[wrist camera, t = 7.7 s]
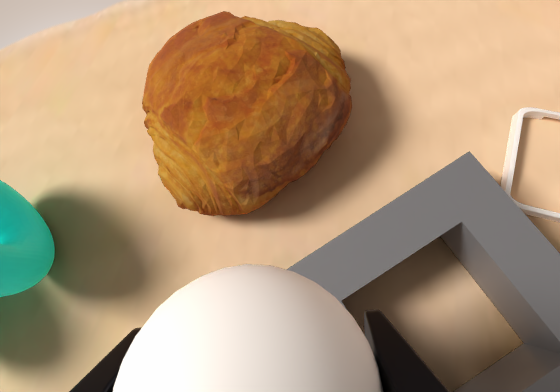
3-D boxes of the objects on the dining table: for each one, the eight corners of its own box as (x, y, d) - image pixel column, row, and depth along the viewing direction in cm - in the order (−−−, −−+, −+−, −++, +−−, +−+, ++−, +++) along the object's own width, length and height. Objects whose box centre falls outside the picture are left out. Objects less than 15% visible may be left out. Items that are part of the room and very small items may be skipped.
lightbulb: (203, 383, 16) (-48, 581, 5) (250, 257, 17) (127, 208, 6) (330, 442, 14) (343, 869, 4) (371, 302, 16) (466, 333, 5)
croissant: (375, 134, 27) (414, 65, 20) (220, 258, 24) (195, 234, 16) (262, 25, 31) (258, -69, 23) (112, 120, 27) (50, 47, 20)
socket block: (603, 362, 20) (672, 380, 16) (404, 500, 19) (426, 555, 15) (444, 173, 23) (469, 151, 20) (274, 283, 23) (266, 282, 19)
